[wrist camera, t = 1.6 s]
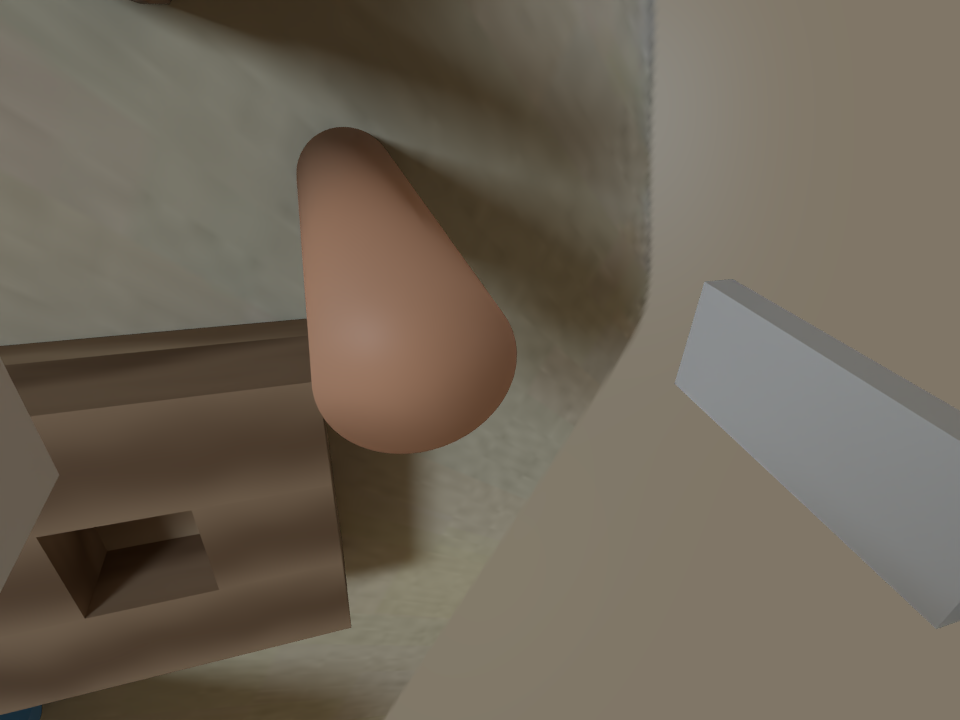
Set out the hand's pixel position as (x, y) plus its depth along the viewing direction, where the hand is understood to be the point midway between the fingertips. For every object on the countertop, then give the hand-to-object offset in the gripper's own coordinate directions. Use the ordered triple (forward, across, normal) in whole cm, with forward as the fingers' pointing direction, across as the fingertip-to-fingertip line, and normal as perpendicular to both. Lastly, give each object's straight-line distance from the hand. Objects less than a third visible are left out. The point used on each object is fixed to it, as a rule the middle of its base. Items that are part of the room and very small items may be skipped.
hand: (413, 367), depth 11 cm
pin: (+13, 0, +1) cm, 13 cm away
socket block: (+13, -10, -13) cm, 21 cm away
